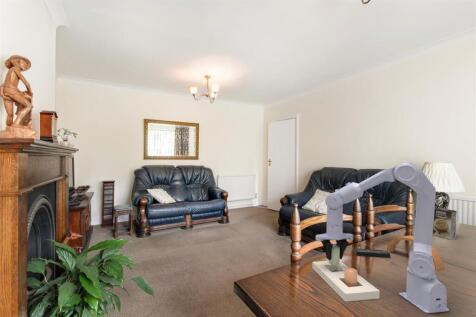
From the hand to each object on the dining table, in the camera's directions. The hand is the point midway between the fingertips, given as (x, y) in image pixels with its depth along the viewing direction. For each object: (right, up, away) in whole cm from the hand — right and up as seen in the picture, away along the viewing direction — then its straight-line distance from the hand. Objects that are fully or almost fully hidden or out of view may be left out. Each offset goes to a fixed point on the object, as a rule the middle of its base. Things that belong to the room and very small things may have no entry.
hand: (334, 258), depth 88 cm
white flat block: (+1, -6, -5) cm, 8 cm away
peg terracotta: (+2, -6, -10) cm, 12 cm away
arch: (+41, -7, +14) cm, 44 cm away
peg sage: (0, -2, 0) cm, 2 cm away
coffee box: (+82, -7, +44) cm, 94 cm away
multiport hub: (+25, -7, +18) cm, 32 cm away
